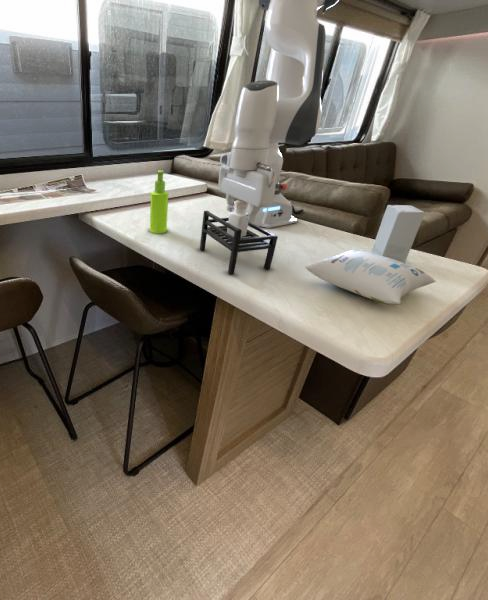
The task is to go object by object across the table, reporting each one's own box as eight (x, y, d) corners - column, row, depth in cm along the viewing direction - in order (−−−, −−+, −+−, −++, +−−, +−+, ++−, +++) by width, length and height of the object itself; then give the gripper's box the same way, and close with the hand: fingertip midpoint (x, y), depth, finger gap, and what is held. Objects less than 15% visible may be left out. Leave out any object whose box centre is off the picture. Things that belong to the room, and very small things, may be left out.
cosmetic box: (402, 268, 86) (428, 213, 79) (376, 265, 88) (399, 211, 80) (391, 256, 93) (414, 204, 85) (367, 254, 95) (387, 203, 87)
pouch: (446, 264, 70) (351, 235, 84) (407, 290, 61) (308, 253, 76) (428, 295, 74) (341, 262, 88) (388, 323, 66) (299, 282, 80)
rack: (234, 245, 101) (240, 207, 95) (270, 269, 87) (280, 226, 80) (199, 249, 99) (203, 210, 93) (229, 275, 84) (237, 230, 78)
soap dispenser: (166, 227, 118) (169, 168, 107) (166, 233, 112) (169, 172, 102) (150, 226, 118) (151, 168, 108) (149, 233, 112) (151, 172, 102)
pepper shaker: (246, 236, 88) (253, 201, 84) (236, 239, 87) (242, 203, 82) (235, 232, 91) (241, 198, 87) (225, 234, 90) (230, 200, 85)
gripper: (287, 165, 71) (274, 226, 79) (238, 154, 88) (230, 205, 95) (262, 167, 70) (251, 229, 77) (217, 155, 87) (211, 207, 94)
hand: (239, 215), depth 86 cm, fingers open, 8 cm apart
